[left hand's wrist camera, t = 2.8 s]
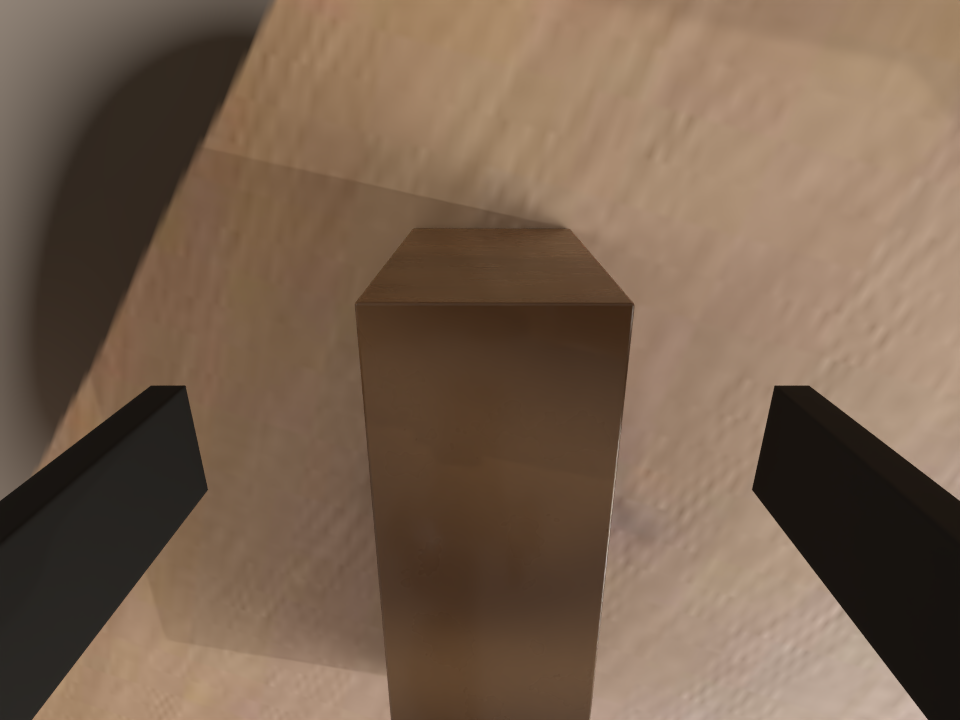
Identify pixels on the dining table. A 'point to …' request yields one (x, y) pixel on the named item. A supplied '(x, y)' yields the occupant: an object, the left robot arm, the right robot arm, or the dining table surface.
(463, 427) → the bar
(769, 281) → the dining table surface
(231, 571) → the dining table surface
